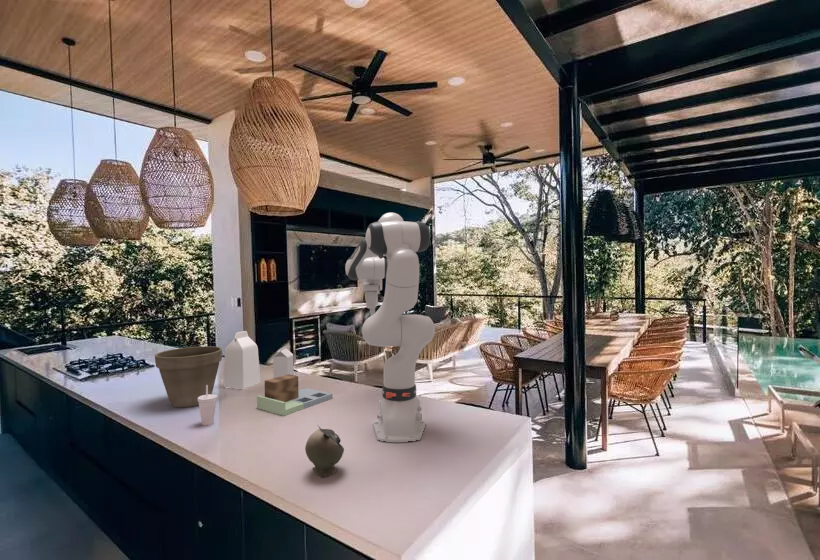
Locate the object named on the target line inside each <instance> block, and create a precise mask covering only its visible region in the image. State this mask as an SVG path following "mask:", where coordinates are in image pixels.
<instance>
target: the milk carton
mask: <svg viewBox="0 0 820 560" xmlns="http://www.w3.org/2000/svg"><path fill="white" fill-rule="evenodd" d="M272 368H273V369H272V374H273V375H272V379H273V378H277V377H280V376H284V375H288V374H290V375H295V374H294V372H295V371H294V370H295V369H294V368H295V367H294V354H293V353H292V352H291V351H290V350H289V349H288V348H287V345H286V346H283V347H280V348H279V349H278V350H277V351H276V354H274V356H273V357H272Z"/></svg>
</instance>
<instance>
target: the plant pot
mask: <svg viewBox="0 0 820 560" xmlns="http://www.w3.org/2000/svg"><path fill="white" fill-rule="evenodd" d="M222 360H223V348H222V347H220V346H211V345H209V346H207V345H206V346H205V345H204V346H192V347H191V346H190V347H189V346H187V347H180V348H174V349H167V350H164V351H163V350H162V351H161V352H157V353H156V354H155V355H154V361H155V367H156V368H157V369H158V370H159V374H160V377H161V380H162V382H163V383H162V384H163V385H164V388H165V392H166V394H167V398H168V401H169V403H170V405H171V406H172V407H174V408H189V407H190V408H191V407H196V406H199V402H198V401H197V400H198V397H200V396H202V395H206V385H208V394H213V391H214V387H215V383H216V378H217V375H218V370H219V365H220V362H221V361H222Z"/></svg>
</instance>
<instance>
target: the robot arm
mask: <svg viewBox="0 0 820 560" xmlns="http://www.w3.org/2000/svg"><path fill="white" fill-rule="evenodd" d="M430 243H431V233H430V229H429V227H428V226H427V224H425V223H424V222H421V221H404V218H403V217H402V216H401V215H400V214H398V213H396V212H391V211H390V212H386V213H384V214H382V215H381V217H380V218H379V219H378V220H377V221H374V222H372V223H370V224H369V225H368V226H367V229H366V232H365V238H363V239H361V240H360V241H359V243H358V244H357V246H356V247H355V249H354V251H353V252H352V254H351V256H350V257H348V259H347V260H346V263H345V265H344V266H345V267H344V268H345V275H346V276H347V277H348V278H349V280H352V281H359V280H362V291H363V292H364V294H365V295H364V296H365V304H366V308H367V309H369V314H370V315H369V317H368V318H366V319H365V321H364V322H363V325H362V327H361V334H362V339H363V340H364V342H365V343H366V344H367V345H369V346H375V347H380V348H382V347H383V348H384V347H388V348H389V347H400V348H399V350H398V352H397V353H396V354H394V355H392V356H390V357H388V358H387V359H386V360H385V362H384V364H383V384H382V388H381V393H382V395H381V396H382V397H381V398H380V399H379V400H378V409H377V410H378V414H377V416H376V417H377V419H376V420H374V421H372V427H373V429H374V432H375V436H376V438H377V440H378V441H379V440H380V442H383V441H386V442H385V443H409V442H408V441H413V442H416V440H418V441H420V440H421V439H422V437H423V435H424V432H425V429H426V426H427V421H426V420H424V419H423V414H422V413H421V412H422V406H421V400H420V399H419V398H418V397H417V385H416V366H417V365H416V363H417V362H418V361H417V360H418V358H419V355H420V354H421V352H422V351H423V350H424V348H425V347H426V346H427V345H428V344H429V343H431V342H432V340H433V339H434V336H435V334H436V327H435V323H434V321H433V319H431V317H430V316H427V315H424V314H423V315H422V314H414V313H413V314H404V313H407V312H408V311H410V310H411V309H413V308H414V306H416V304H417V302H418V296H419V286H420V285H419V284H420V260H419V256H418V254H419V253H421V252H422V253H423V252H425V251H426V250H428V248H429V246H430ZM417 253H418V254H417ZM385 257H386V258H385ZM383 279H385V289H384V296H383V301H382V302H381V305H380V307H379V308H378V309H377V310H376V308H377V306H378V301H379V300H378V299H379V298H378V297H379V296H378V295H379V294H380V291H382V290H383ZM425 425H426V426H425ZM424 428H425V429H424ZM423 431H424V432H423ZM422 434H423V435H422Z"/></svg>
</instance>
